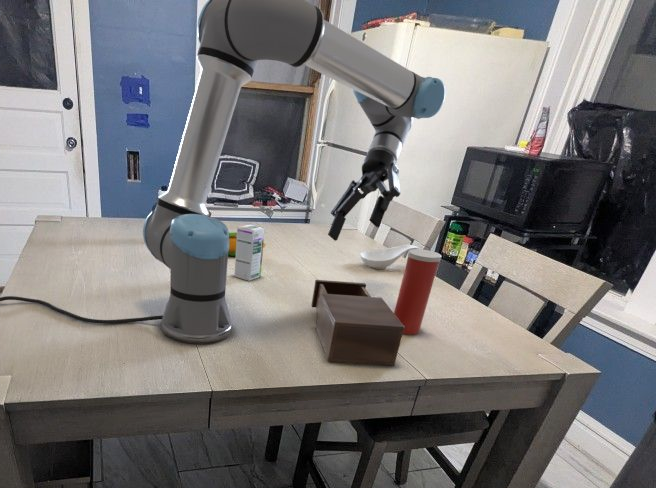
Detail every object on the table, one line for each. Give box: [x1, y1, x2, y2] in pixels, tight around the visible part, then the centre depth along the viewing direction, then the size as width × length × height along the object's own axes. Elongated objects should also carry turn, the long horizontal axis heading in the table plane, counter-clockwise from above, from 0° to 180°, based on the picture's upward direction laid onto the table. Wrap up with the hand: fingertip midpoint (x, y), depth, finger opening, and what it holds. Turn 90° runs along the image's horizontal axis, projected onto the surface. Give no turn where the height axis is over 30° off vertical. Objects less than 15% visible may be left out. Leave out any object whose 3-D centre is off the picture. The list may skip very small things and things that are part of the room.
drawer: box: [310, 279, 372, 314], centre depth 116 cm, size 20×12×7 cm, turn 0°
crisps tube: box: [393, 248, 442, 336], centre depth 111 cm, size 7×7×18 cm
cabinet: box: [315, 293, 404, 367], centre depth 103 cm, size 17×14×9 cm
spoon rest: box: [359, 244, 420, 270], centre depth 162 cm, size 24×12×7 cm, turn 102°
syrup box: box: [233, 223, 266, 282], centre depth 139 cm, size 6×6×14 cm
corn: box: [228, 232, 267, 257], centre depth 161 cm, size 7×8×20 cm
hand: (352, 230), depth 115 cm, fingers open, 13 cm apart
